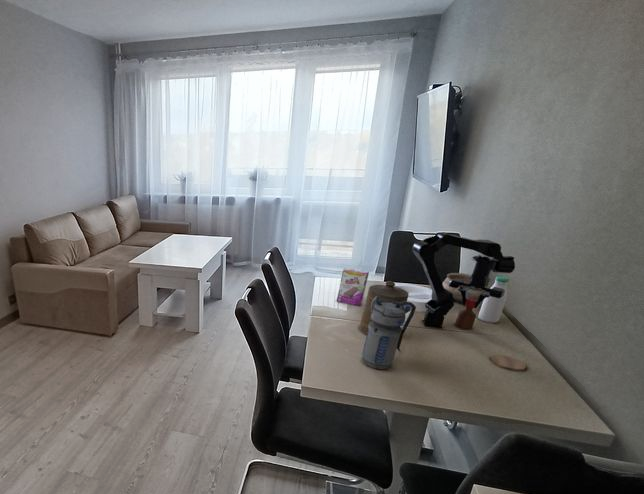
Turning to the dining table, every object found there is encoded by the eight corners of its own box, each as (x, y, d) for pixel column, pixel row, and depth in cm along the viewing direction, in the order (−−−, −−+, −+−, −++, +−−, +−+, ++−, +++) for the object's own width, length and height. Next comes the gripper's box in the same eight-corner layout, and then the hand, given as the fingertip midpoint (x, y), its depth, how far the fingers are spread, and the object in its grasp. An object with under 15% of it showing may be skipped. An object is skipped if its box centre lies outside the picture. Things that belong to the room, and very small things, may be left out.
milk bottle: (501, 324, 183) (517, 281, 174) (482, 322, 184) (497, 279, 176) (493, 317, 189) (508, 275, 181) (474, 315, 191) (488, 274, 183)
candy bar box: (336, 301, 203) (342, 269, 196) (338, 298, 207) (344, 267, 200) (360, 306, 198) (367, 274, 191) (362, 303, 201) (369, 271, 195)
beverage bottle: (401, 374, 141) (420, 306, 131) (359, 367, 145) (374, 300, 134) (397, 360, 149) (414, 296, 139) (358, 354, 153) (372, 291, 143)
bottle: (456, 328, 177) (464, 305, 173) (452, 322, 183) (459, 300, 178) (473, 330, 175) (481, 307, 171) (469, 324, 181) (476, 302, 177)
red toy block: (469, 308, 173) (471, 301, 172) (462, 305, 177) (464, 298, 175) (478, 308, 174) (480, 301, 172) (470, 304, 177) (472, 298, 176)
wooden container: (402, 331, 173) (416, 281, 164) (391, 342, 163) (404, 290, 154) (367, 321, 182) (377, 273, 173) (353, 331, 172) (364, 281, 163)
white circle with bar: (440, 298, 211) (443, 289, 209) (441, 316, 189) (444, 306, 187) (381, 288, 224) (383, 279, 222) (375, 303, 202) (377, 294, 200)
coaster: (496, 367, 146) (497, 366, 146) (487, 355, 155) (487, 353, 155) (530, 373, 144) (531, 371, 143) (518, 359, 152) (519, 357, 152)
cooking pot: (438, 290, 222) (445, 268, 217) (480, 297, 213) (488, 275, 208) (438, 305, 202) (445, 281, 197) (484, 313, 193) (492, 289, 188)
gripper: (514, 273, 168) (501, 309, 174) (462, 263, 180) (452, 296, 187) (507, 278, 161) (493, 315, 167) (453, 267, 173) (443, 302, 180)
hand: (470, 306), depth 175 cm, fingers closed on red toy block, 4 cm apart
